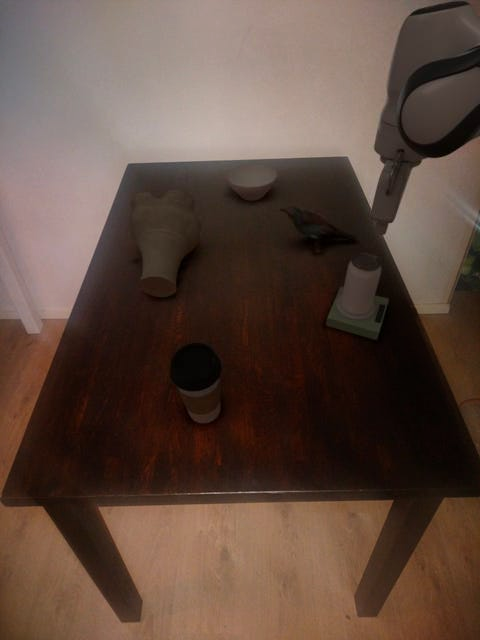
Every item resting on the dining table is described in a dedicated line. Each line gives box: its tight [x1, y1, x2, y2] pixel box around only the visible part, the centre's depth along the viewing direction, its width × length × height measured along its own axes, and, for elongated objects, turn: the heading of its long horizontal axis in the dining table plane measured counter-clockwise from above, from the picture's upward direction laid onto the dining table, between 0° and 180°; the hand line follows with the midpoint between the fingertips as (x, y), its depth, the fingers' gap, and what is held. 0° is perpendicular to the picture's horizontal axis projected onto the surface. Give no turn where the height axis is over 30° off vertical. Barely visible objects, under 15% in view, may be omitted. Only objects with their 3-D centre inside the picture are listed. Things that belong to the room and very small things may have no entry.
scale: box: [325, 286, 390, 341], centre depth 84 cm, size 11×11×3 cm
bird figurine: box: [279, 205, 358, 254], centre depth 101 cm, size 13×10×20 cm
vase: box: [129, 189, 203, 298], centre depth 93 cm, size 22×22×28 cm
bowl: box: [226, 162, 278, 202], centre depth 123 cm, size 16×16×7 cm
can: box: [341, 252, 382, 315], centre depth 79 cm, size 6×6×12 cm
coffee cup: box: [169, 342, 223, 424], centre depth 66 cm, size 8×8×15 cm
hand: (385, 218), depth 68 cm, fingers open, 8 cm apart
